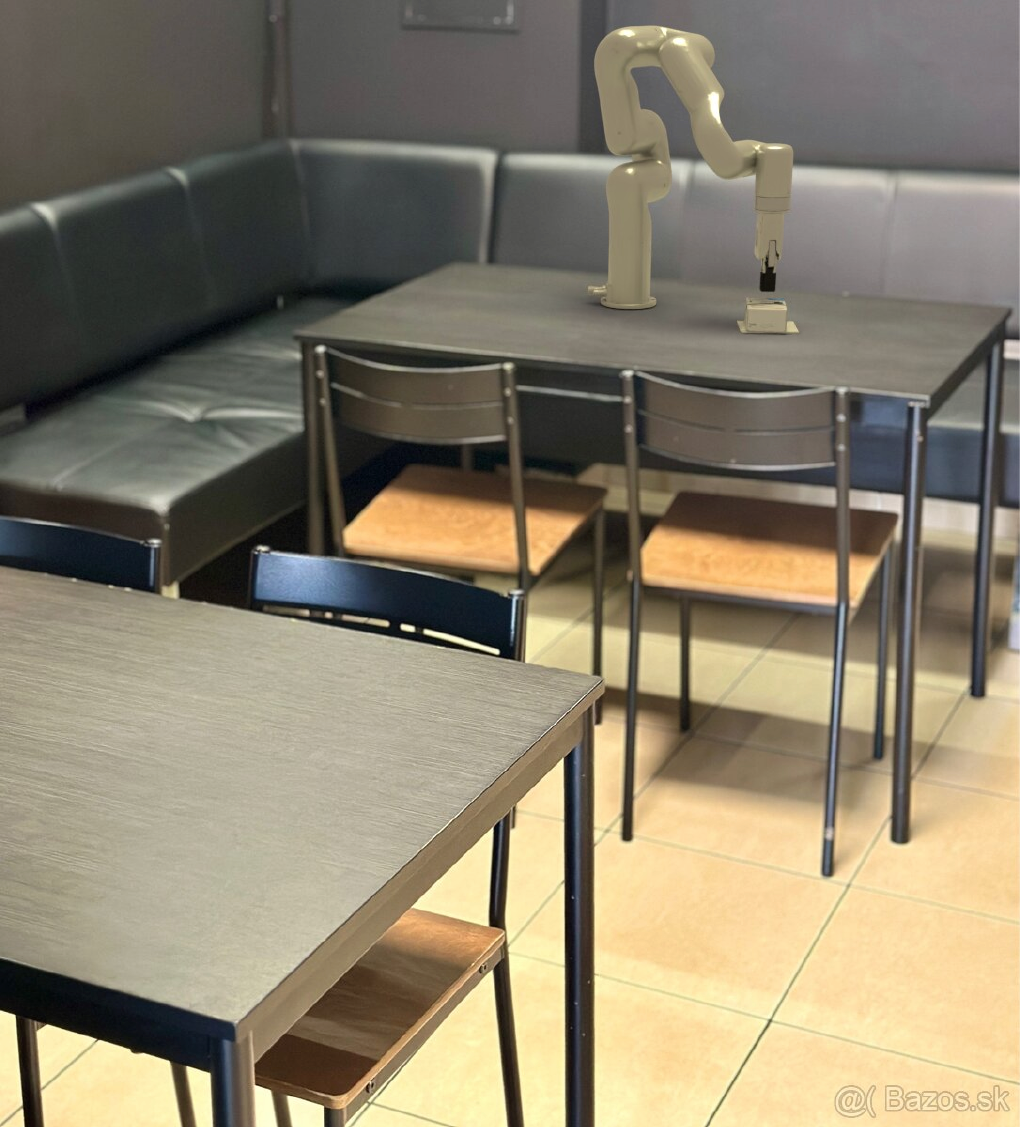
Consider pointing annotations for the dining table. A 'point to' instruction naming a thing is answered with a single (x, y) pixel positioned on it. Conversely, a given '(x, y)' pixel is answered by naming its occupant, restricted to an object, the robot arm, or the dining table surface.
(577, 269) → the dining table surface
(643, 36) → the robot arm
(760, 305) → the ink box
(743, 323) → the mat
